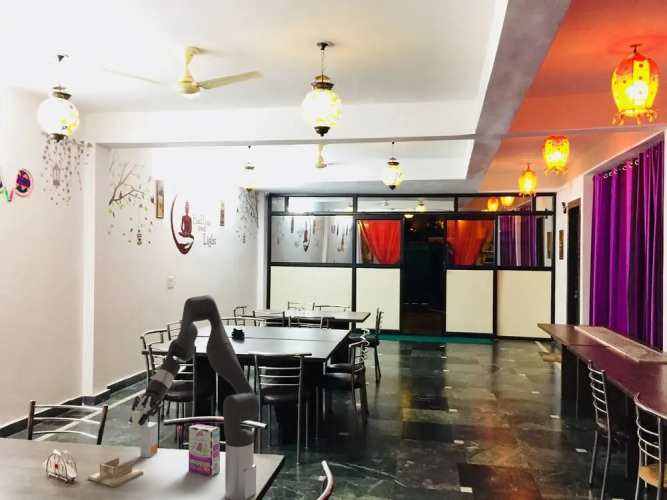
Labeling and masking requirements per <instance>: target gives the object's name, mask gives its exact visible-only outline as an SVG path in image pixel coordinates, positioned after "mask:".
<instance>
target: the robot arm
mask: <svg viewBox="0 0 667 500" xmlns="http://www.w3.org/2000/svg"><path fill="white" fill-rule="evenodd" d="M183 305H184V306H183V311H182V319H181V327H180V330H179V333H178V335H177V338H175V339H173V340H172V341H171V342H170V344H169V347H168V350H167V354H166V356H165V359H164V360H163V363H162V364H161V366H160V368H159V369H158V370H157V372H156V373H155V374H154V375H153V377H152V378H151V380H150V382H149V383H148V384H147V387H146V388H145V393H144V394H143V395H142V396H140V397H139V395H136V396H135V397H134V401H133V404H132V406H131V411H132V412H134V411H137V410H145V412H144V414H143V415H142V417H141V418H140V420H139V421H138V424H139V425H141V426H142V425H143V424H144V423H145V422H146V420H147V418H148V419H149V418H150V417H155V415H157V413H158V412H159V411H161V409H162V408H163V407H164V406H165V403H164V402H163V401H162V399H164V397H165V395H166V394H167V392H168V390H169V389H170V387H171V385H172V384H173V383H174V379H175V378H176V376H178V375H177V374H178V373H179V371H180V370H181V365H180V363H179V362H178V361H177V360H175V358H177V359H179V360H180V361H183V362H189V361H190V360H192V358H193V357H194V355H195V352H196V346H195V342H196V339H197V337H198V335H199V334H198V333H199V332H198V331H199V330H198V327H197V325H196V324H195V323H196V322H201V321H202V322H203V321H207V320H208V322H209V323H210V332H209V333H210V334H209V336H208V340H207V343H206V348H205V349H206V350H205V352H206V356H207V358H208V360H209V363H210V366H211V368H212V369H213V371H215V373H216V374H218V375H219V376H220V377H222V379H224V380H225V381H227V382H228V383H229V384H230V385H231V387H232V388H233V389H234V390H235V393H234V394H230V395H227V396H226V397H225V398H224V400H223V404H222V405H223V406H222V407H223V409H222V411H223V412H222V413H223V414H222V415H223V416H222V417H223V432H224V433H223V434H224V437H225V467H224V468H225V475H224V476H225V487H224V488H225V489H224V490H225V491H224V493H225V495H224V496H225V497H226V499H228V500H249V499H250V498H252V497H253V496H254V495H256V494H257V465H256V464H254V463H255V461H254V460H255V459H254V456H255V455H254V454H255V453H254V451H255V449H254V448H255V447H254V445H255V444H254V443H255V436H254V435H255V434H254V432H253V431H251V430H249V429H246V428H245V429H244V428H242V427H241V426H242V425H241V423H243V422H249V421H251V420H254V419H256V418H257V417H258V416H259V415H260V412H261V411H260V409H261V408H260V402H259V399H258V397H257V394H256V393H255V391H254V388H252V385H251V384H250V382H249V380H248V378H247V376H246V375H245V373H244V371H243V369H242V367H241V364H240V362H239V360H238V357H237V354H236V351H235V349H234V347H233V344H232V342H231V340H230V339H229V336H228V334H227V332H226V329H225V326H224V323H223V321H222V317H221V315H220V312H219V311H220V310H219V308H218V306H217V302H216V300H215V298H214V297H213V296H212V295H209V294H205V295H200V296H198V295H197V296H193V297H189V298H187V299H186V300H185V302H184V304H183ZM194 322H195V323H194ZM174 357H175V358H174ZM128 421H129V423H130V424H131V425H132V415H131V416H130V418H129V419H128Z"/></svg>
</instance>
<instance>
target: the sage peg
mask: <svg viewBox="0 0 667 500" xmlns="http://www.w3.org/2000/svg"><path fill="white" fill-rule="evenodd" d="M144 412H145V410H140V409H139V410H137V411H132V412H131V416H132V424H131V434H133V435H136V436H141V434H144V433H147V432H148V422H149V421H148V419H149V417H148V418H147V420H146V422H145V423H144V424H143V425H142V426H141V425H139V424H138V421H139V420H140V418H141V417H142V415H143V414H144Z"/></svg>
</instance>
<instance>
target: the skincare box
mask: <svg viewBox="0 0 667 500" xmlns="http://www.w3.org/2000/svg"><path fill="white" fill-rule="evenodd" d="M158 427H159V422H152V421H148V432H147V433H144V434H141V435H140V450H139V451H140V452H139V453H140V457H142V458H150V457H152V456H154V455H155V454H156V453H158V442H159V441H158V438H159V437H158V436H159V433H158V432H159V428H158Z"/></svg>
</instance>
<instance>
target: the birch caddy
mask: <svg viewBox="0 0 667 500" xmlns="http://www.w3.org/2000/svg"><path fill="white" fill-rule="evenodd" d="M143 475H144V471H143V470H140V469H139V470H138V469H136V468H133V460H129V461H126V462H124V463H122V464H120V457H118V456H117V457H115V458H112V459H110V460H108V461H105V462H102V463H100V464H99V471H98V472H96V473H95V472H94V473H92V474H91V475H88V476H87V477H88V480H90V481H93V482H97V483H100V484H103V485H108V486H111V487H114V488H117V487H119V486H121V485H123V484H125V483H128V482H130V481H132V480H134V479H136V478H138V477H140V476H143Z"/></svg>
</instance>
